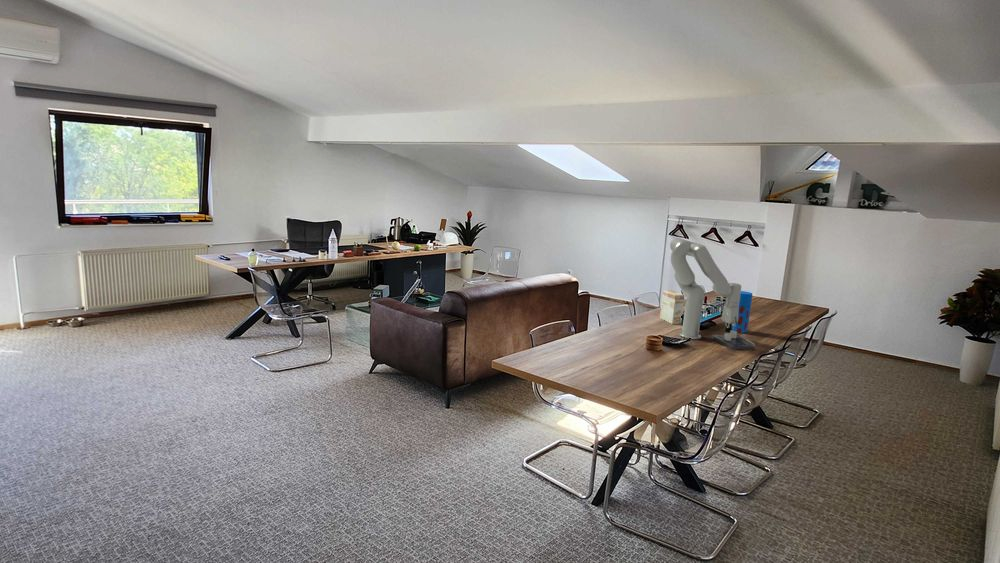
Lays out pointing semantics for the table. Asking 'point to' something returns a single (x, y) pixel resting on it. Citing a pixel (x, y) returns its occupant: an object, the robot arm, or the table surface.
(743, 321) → the thermos
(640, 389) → the table surface
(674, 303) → the coffeecake box
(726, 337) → the fader near
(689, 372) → the table surface
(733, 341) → the console
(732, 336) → the fader far
